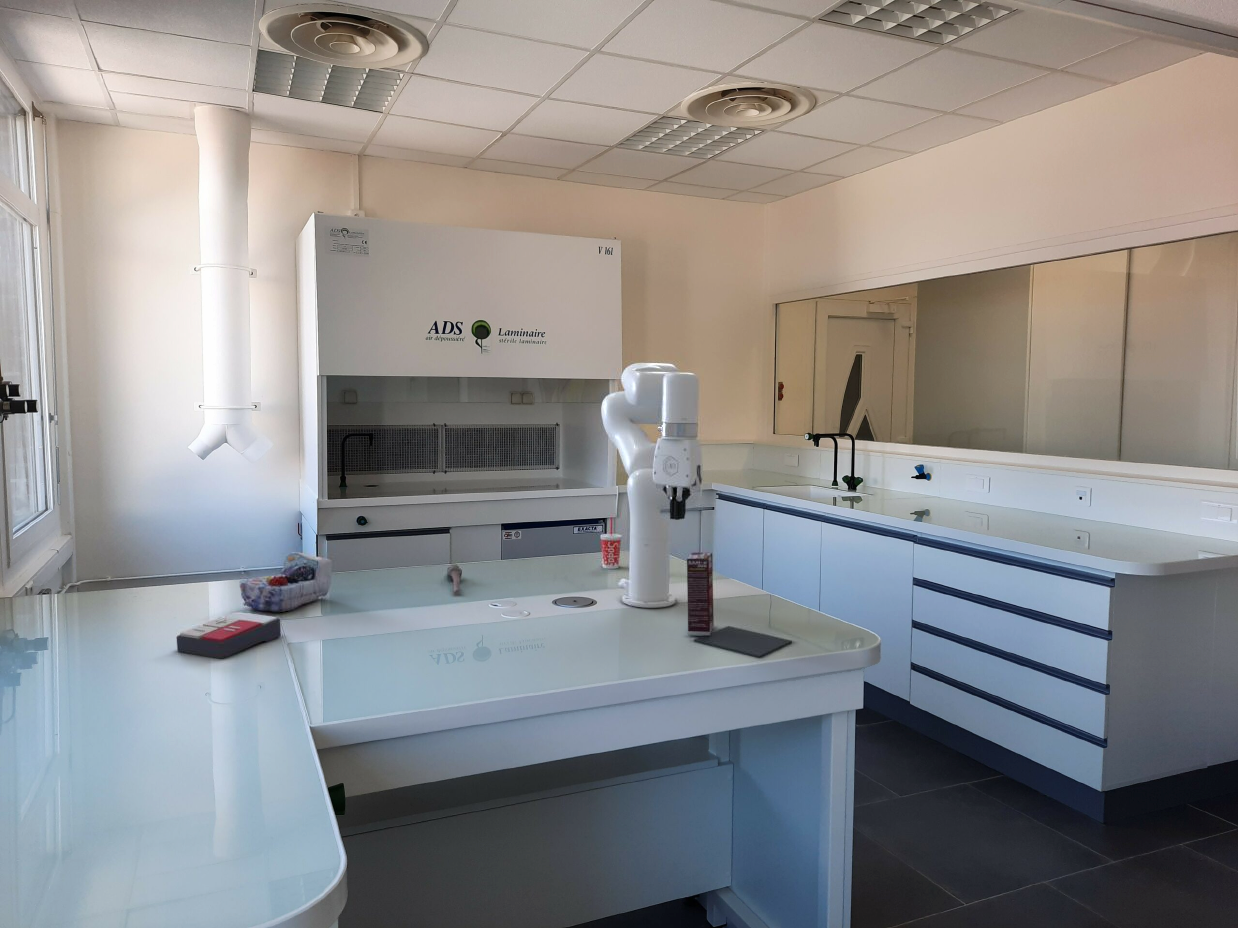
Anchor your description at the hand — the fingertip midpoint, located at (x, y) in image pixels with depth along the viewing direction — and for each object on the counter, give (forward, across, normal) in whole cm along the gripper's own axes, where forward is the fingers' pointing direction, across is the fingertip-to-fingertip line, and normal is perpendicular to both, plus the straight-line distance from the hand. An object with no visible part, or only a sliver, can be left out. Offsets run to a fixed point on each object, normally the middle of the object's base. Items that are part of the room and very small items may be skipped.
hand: (677, 518), depth 176 cm
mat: (+23, +17, 0) cm, 29 cm away
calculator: (+23, -55, -69) cm, 91 cm away
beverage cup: (+23, -47, +35) cm, 63 cm away
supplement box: (+23, +7, 0) cm, 24 cm away
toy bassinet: (+23, -74, -47) cm, 91 cm away
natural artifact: (+23, -62, -9) cm, 67 cm away
